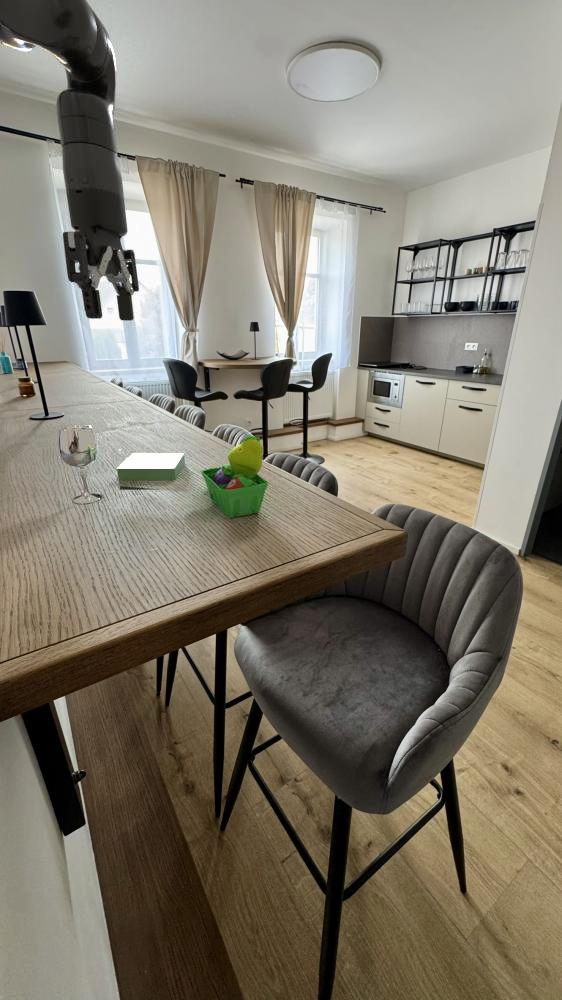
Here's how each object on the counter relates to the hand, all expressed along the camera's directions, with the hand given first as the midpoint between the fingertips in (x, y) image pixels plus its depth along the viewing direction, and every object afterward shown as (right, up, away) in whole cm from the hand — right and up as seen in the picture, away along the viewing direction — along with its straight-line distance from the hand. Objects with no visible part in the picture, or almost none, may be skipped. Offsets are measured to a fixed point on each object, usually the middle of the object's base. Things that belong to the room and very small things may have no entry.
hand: (111, 319), depth 64 cm
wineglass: (-6, -28, +5) cm, 29 cm away
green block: (+2, -24, +14) cm, 28 cm away
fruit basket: (+19, -29, +4) cm, 35 cm away
